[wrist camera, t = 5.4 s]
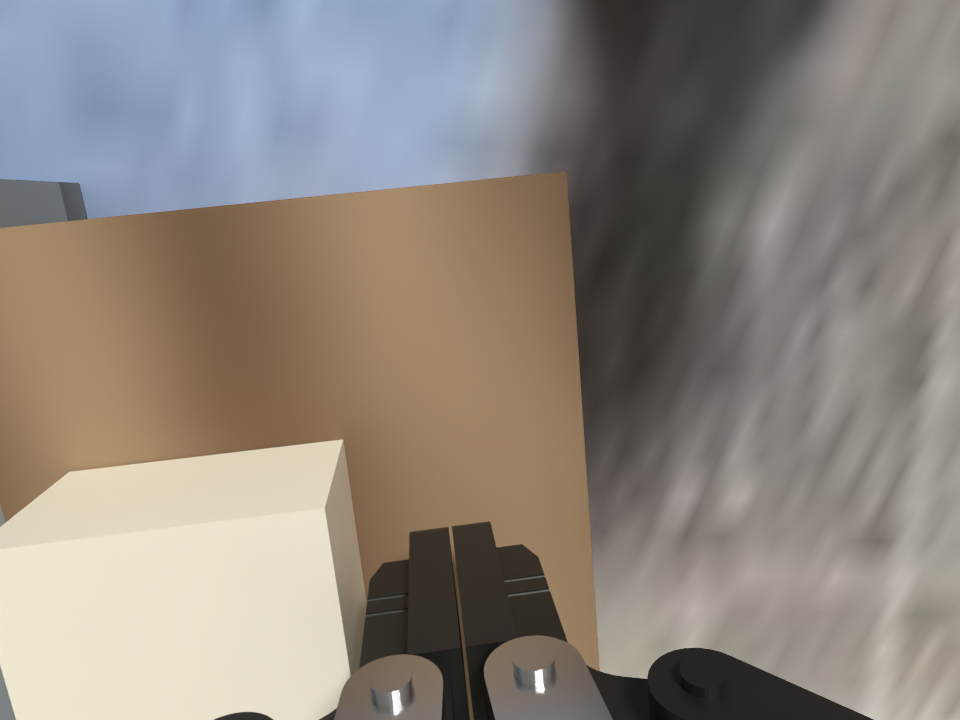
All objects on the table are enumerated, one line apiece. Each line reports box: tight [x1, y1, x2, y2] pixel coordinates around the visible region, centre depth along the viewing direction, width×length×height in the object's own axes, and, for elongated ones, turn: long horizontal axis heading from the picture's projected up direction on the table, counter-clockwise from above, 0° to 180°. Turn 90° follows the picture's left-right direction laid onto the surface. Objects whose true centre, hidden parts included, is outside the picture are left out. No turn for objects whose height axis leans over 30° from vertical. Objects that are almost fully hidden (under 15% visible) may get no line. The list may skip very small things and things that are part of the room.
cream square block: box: [0, 439, 367, 720], centre depth 12 cm, size 5×5×3 cm
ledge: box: [0, 171, 600, 720], centre depth 16 cm, size 11×14×6 cm
